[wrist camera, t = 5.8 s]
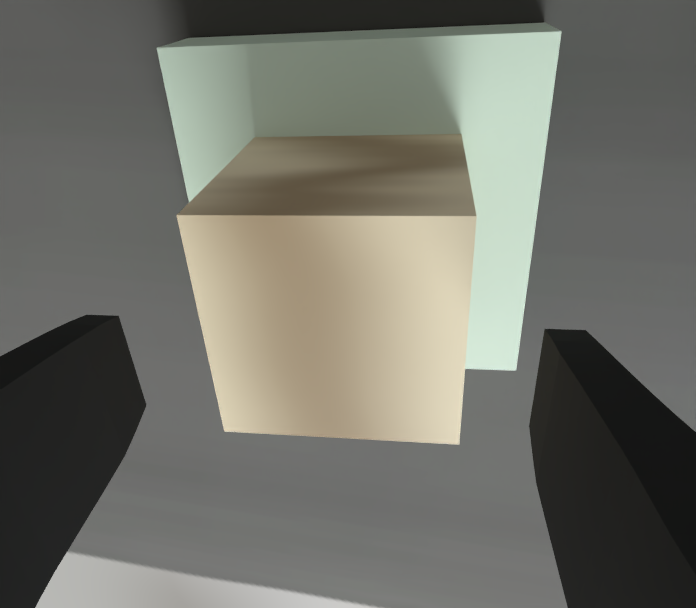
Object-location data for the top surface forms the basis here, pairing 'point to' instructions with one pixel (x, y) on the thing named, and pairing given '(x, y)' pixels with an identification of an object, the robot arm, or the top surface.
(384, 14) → the top surface
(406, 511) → the top surface
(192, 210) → the maple cube
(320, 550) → the top surface
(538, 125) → the pale green slab
